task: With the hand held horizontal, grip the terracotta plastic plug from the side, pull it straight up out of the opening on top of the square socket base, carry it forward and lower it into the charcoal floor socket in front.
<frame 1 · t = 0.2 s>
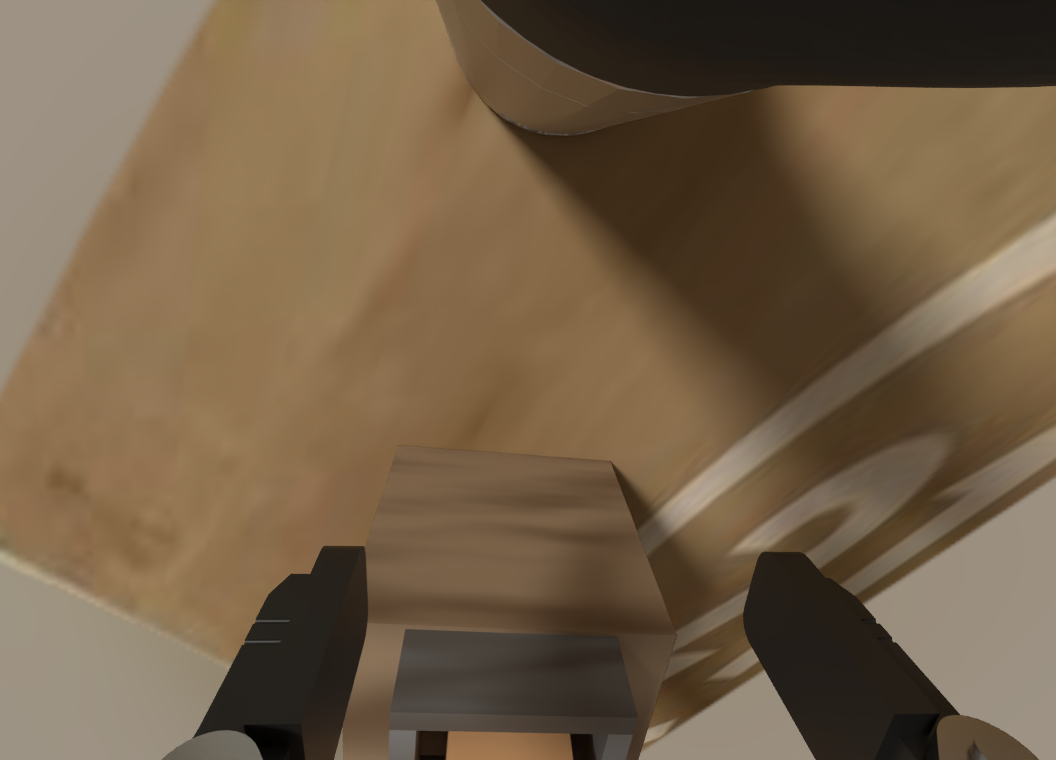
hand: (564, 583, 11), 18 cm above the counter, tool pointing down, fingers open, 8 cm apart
square socket base: (499, 511, 31), on the counter
plug: (502, 705, 20), point 12 cm above the counter, touching square socket base
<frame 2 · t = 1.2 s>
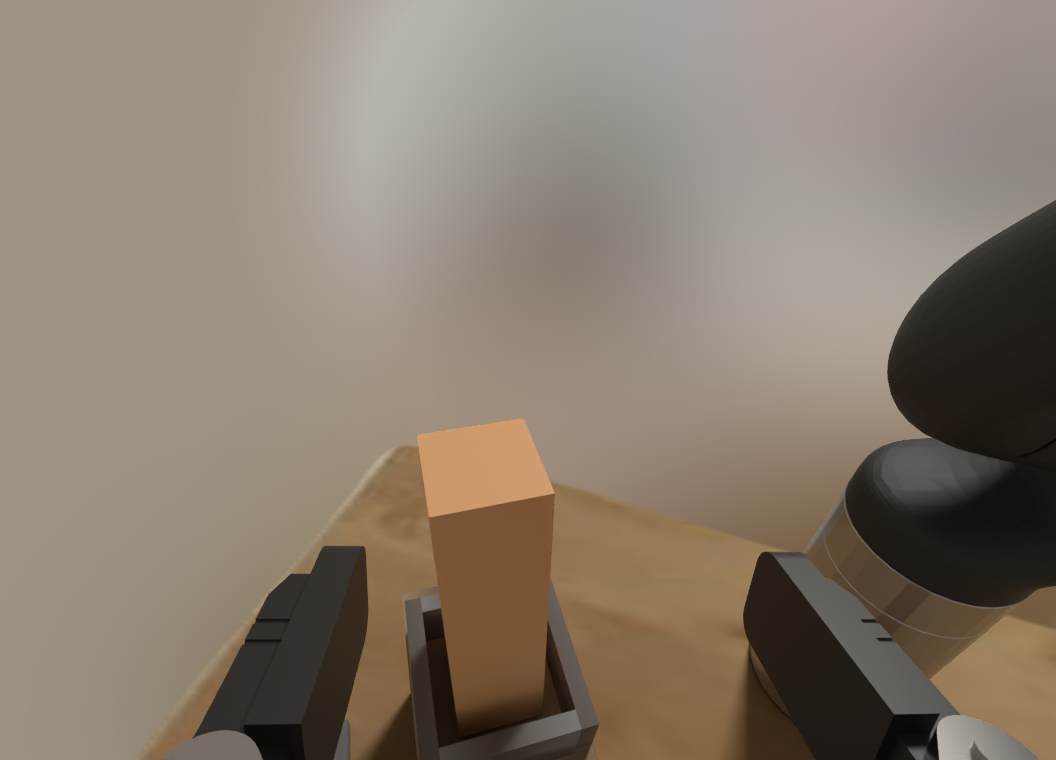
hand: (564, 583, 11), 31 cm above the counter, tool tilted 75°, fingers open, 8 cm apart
plug: (492, 683, 27), point 12 cm above the counter, touching square socket base
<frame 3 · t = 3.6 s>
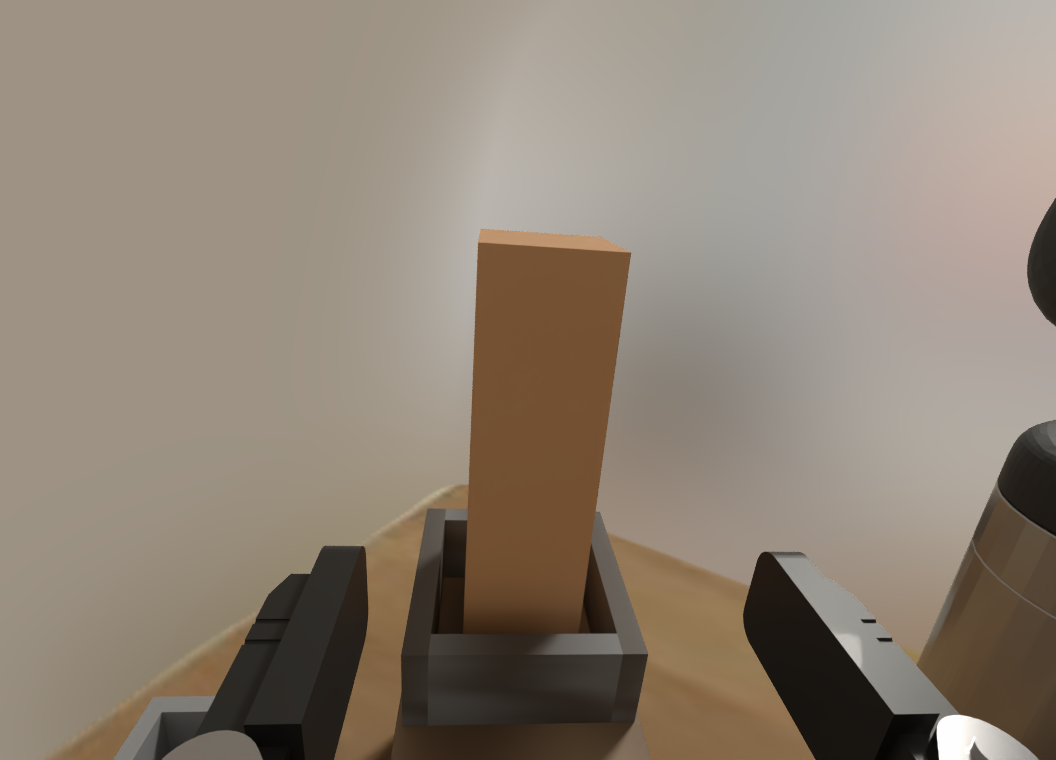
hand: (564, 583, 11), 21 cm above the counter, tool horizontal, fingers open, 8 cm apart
plug: (515, 631, 21), point 12 cm above the counter, touching square socket base
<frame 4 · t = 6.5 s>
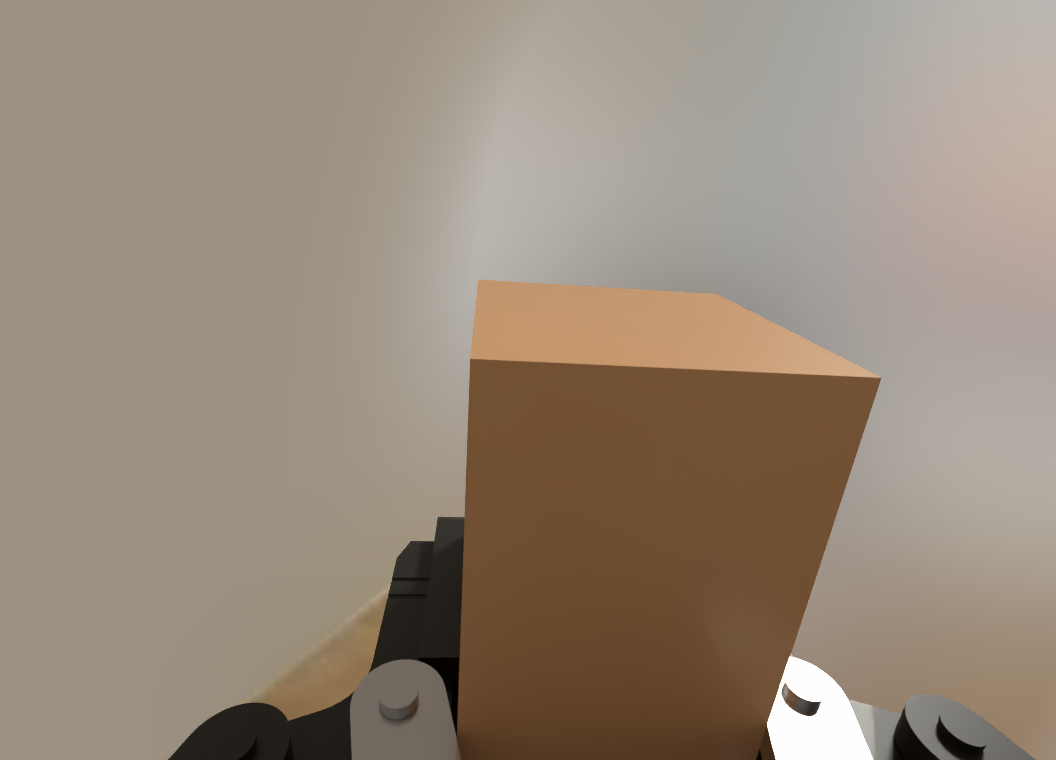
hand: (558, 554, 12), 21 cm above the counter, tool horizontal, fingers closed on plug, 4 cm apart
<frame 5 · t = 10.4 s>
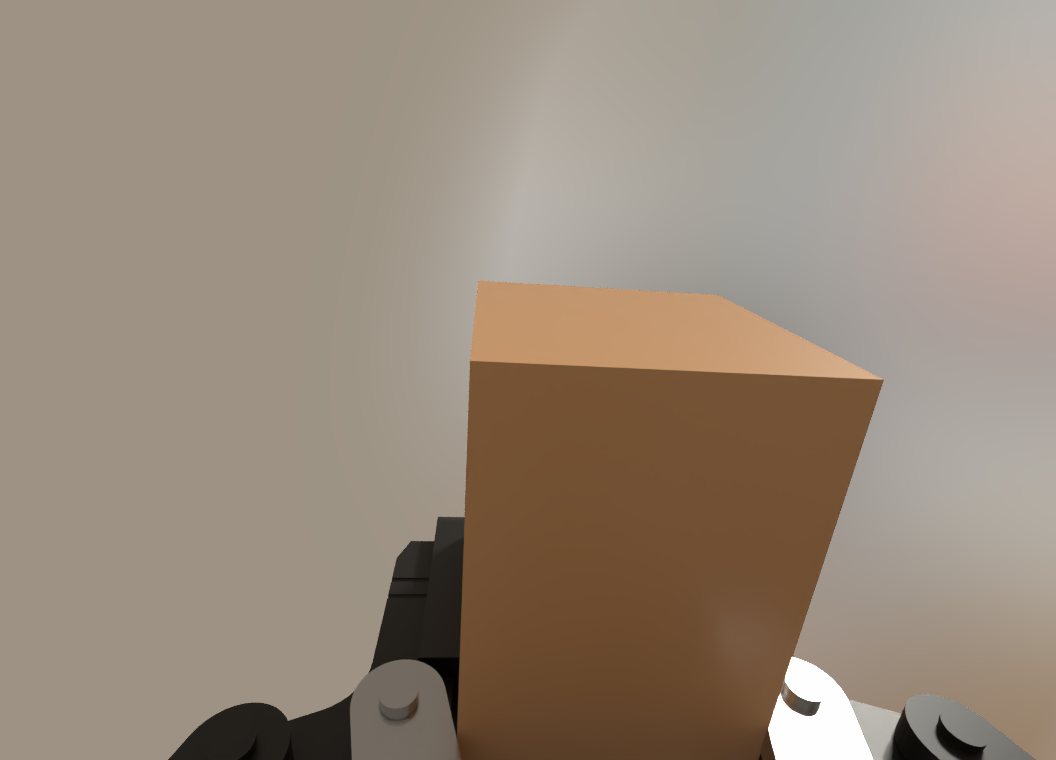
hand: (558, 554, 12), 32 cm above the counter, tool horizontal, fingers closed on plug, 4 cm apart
when the fingers open (11 cm above the counter, at t = 14.7 s): plug drops 1 cm, resting on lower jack.
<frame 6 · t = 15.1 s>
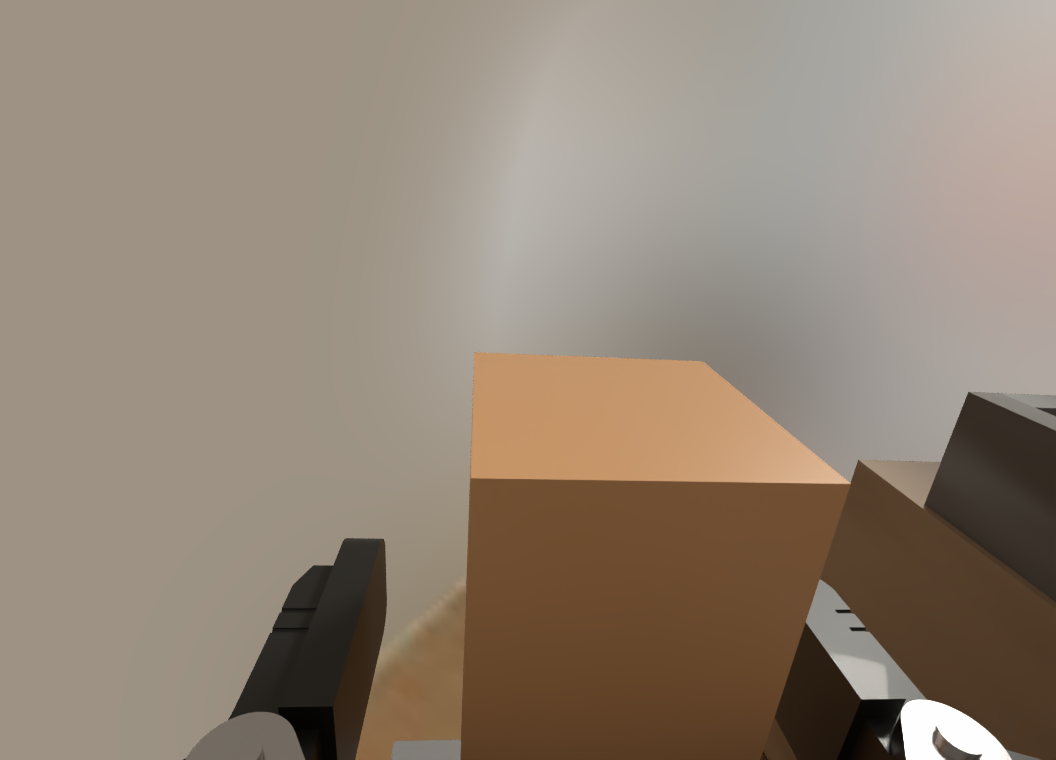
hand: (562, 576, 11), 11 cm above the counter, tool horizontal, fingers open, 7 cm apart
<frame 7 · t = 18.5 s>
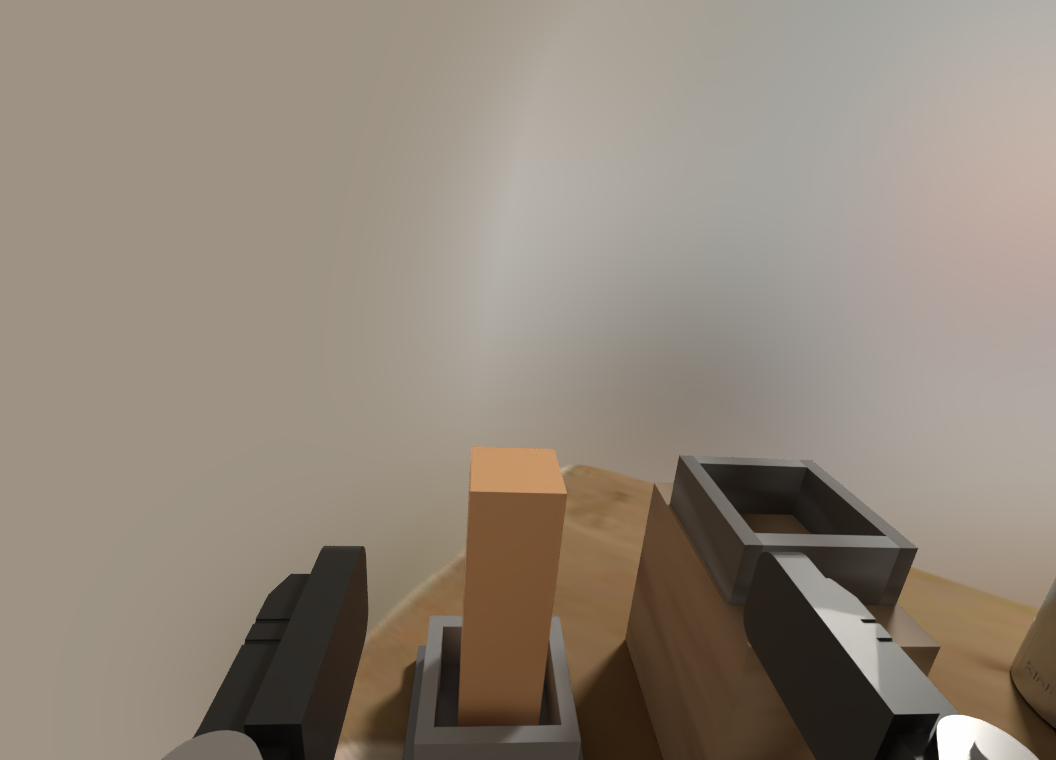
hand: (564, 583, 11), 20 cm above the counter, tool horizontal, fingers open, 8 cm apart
square socket base: (719, 723, 30), on the counter
plug: (495, 713, 29), point 1 cm above the counter, touching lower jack
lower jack: (492, 726, 29), on the counter
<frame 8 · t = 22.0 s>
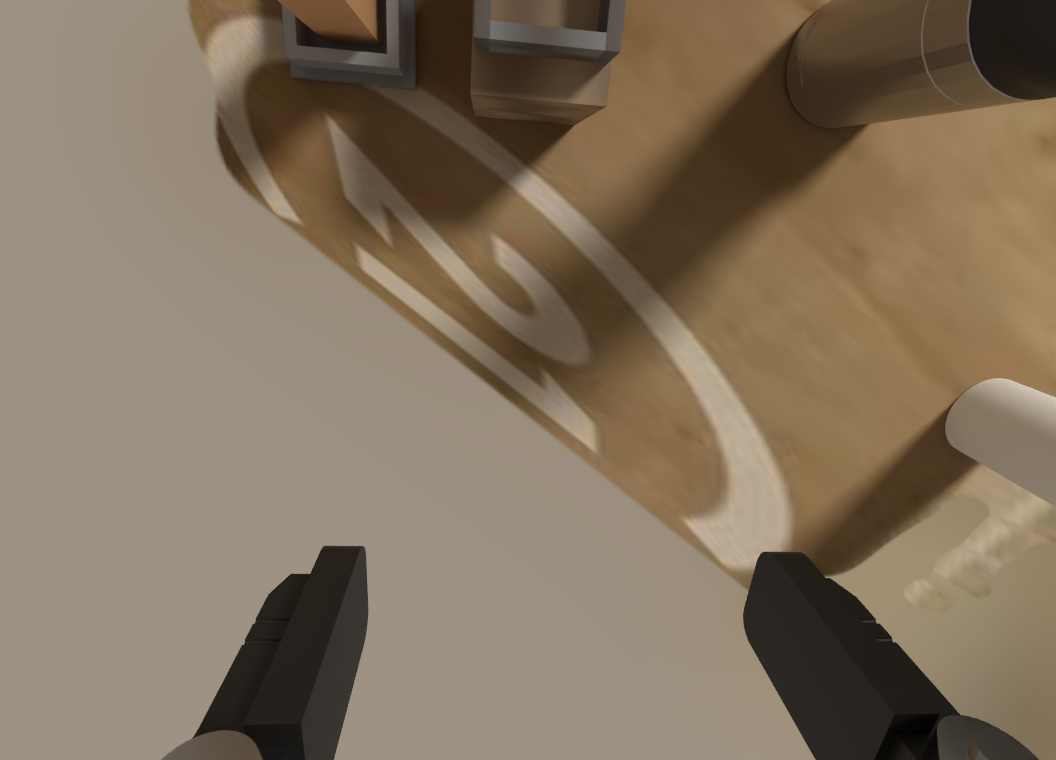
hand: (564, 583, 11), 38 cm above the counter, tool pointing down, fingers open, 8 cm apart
square socket base: (530, 33, 40), on the counter
plug: (352, 11, 38), point 1 cm above the counter, touching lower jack
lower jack: (354, 14, 39), on the counter
container: (983, 415, 55), on the counter
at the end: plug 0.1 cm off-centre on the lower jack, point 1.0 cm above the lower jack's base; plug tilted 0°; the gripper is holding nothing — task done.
